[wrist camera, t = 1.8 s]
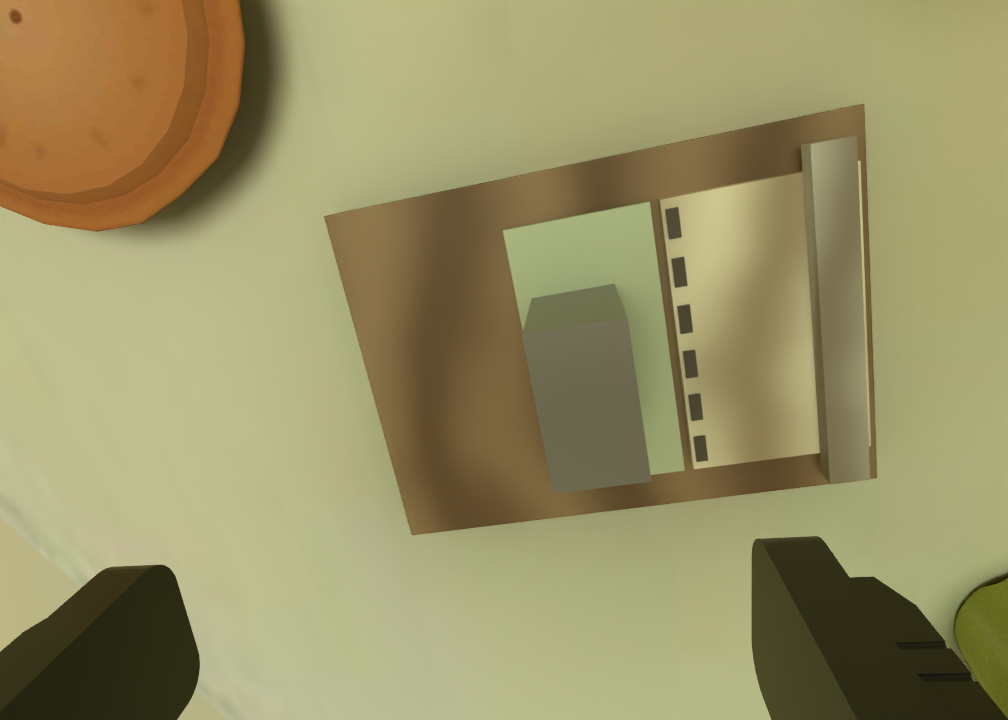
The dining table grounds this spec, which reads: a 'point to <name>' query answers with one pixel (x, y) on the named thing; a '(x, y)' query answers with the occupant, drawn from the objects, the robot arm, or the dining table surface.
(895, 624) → the robot arm
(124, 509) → the dining table surface
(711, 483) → the brown board
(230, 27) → the pie
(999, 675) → the plant pot
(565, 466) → the green plate with block
